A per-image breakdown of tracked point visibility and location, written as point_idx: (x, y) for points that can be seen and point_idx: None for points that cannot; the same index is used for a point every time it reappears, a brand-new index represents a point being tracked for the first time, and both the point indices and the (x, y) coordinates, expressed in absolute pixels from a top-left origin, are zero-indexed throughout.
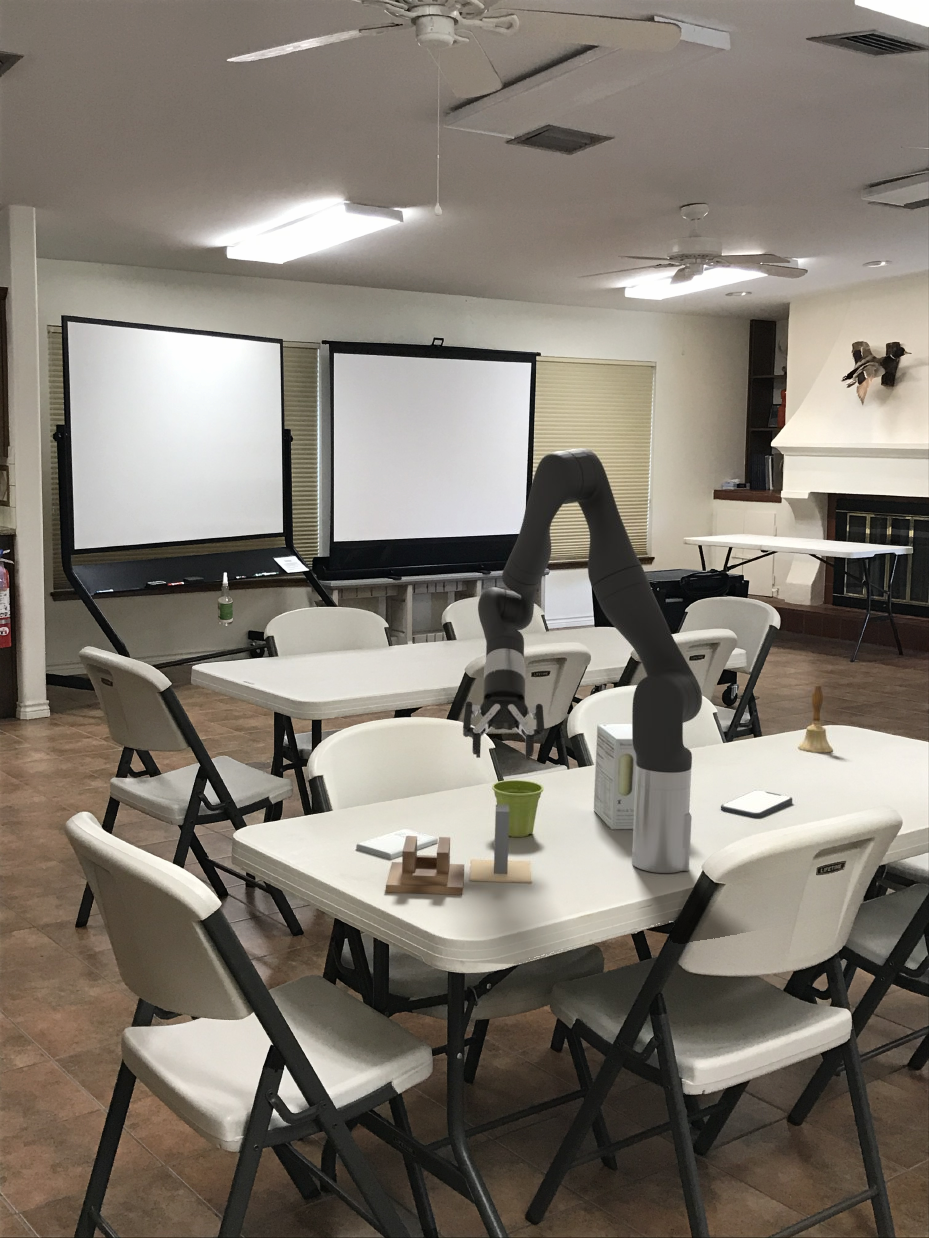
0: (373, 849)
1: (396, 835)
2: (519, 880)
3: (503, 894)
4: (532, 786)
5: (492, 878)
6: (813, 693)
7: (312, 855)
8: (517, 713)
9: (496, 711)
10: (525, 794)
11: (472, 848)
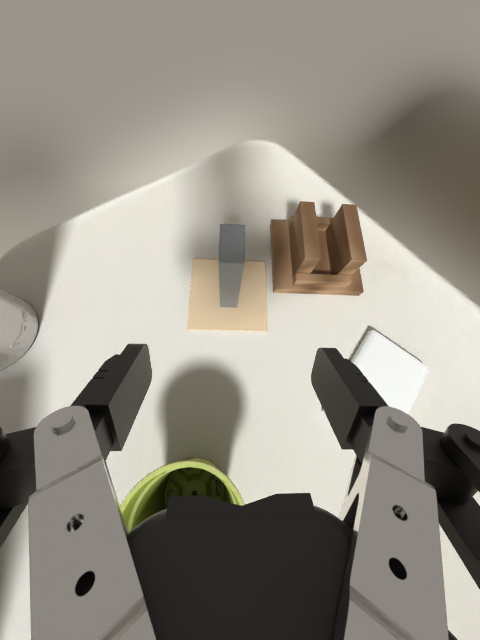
0: (400, 348)
1: None
2: (207, 260)
3: None
4: None
5: None
6: None
7: (464, 337)
8: (71, 620)
9: (352, 616)
10: (167, 464)
11: (267, 387)
